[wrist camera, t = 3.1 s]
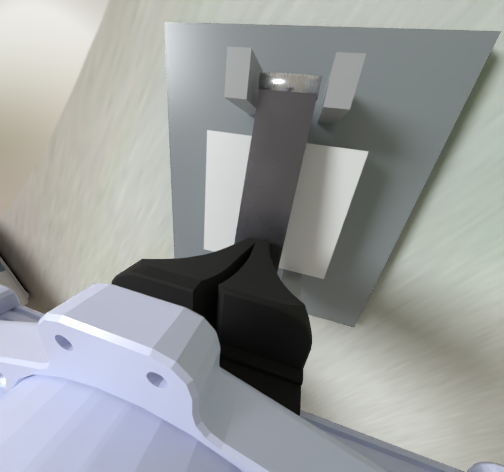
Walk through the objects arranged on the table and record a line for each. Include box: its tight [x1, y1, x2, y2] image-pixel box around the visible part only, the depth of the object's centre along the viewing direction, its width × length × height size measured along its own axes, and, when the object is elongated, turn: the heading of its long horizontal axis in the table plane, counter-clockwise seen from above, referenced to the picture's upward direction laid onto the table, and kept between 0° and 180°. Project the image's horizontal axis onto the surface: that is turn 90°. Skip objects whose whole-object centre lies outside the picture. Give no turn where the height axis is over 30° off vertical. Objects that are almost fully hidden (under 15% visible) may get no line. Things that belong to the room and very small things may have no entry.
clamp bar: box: [234, 71, 323, 272], centre depth 11 cm, size 14×3×1 cm, turn 173°
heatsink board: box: [164, 22, 501, 327], centre depth 15 cm, size 22×20×6 cm
